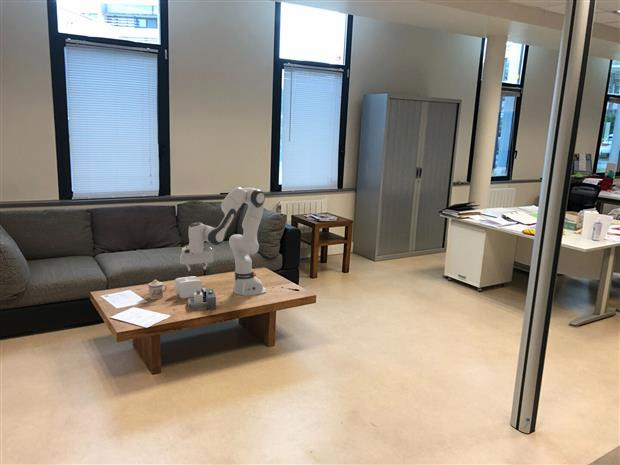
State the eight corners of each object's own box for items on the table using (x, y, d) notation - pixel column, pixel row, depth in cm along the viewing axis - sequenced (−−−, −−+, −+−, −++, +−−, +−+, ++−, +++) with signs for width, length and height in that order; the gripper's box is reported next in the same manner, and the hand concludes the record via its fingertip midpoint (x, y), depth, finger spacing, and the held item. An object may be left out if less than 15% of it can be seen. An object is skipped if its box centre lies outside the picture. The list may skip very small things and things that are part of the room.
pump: (202, 302, 309) (202, 289, 307) (203, 305, 304) (202, 291, 302) (194, 303, 307) (193, 289, 305) (194, 306, 303) (194, 292, 301)
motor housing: (213, 300, 316) (212, 286, 314) (216, 309, 302) (216, 295, 300) (187, 302, 312) (187, 288, 309) (189, 311, 297) (189, 297, 295)
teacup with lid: (152, 300, 312) (151, 283, 309) (146, 296, 319) (145, 279, 316) (169, 296, 320) (169, 279, 317) (163, 292, 326) (163, 276, 324)
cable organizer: (178, 299, 315) (178, 282, 312) (174, 294, 324) (174, 277, 321) (201, 296, 322) (201, 279, 319) (197, 291, 331) (196, 275, 328)
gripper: (212, 246, 306) (213, 267, 309) (179, 248, 300) (180, 269, 303) (214, 248, 300) (214, 270, 304) (180, 251, 294) (181, 272, 297)
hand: (197, 269), depth 303 cm, fingers open, 8 cm apart
